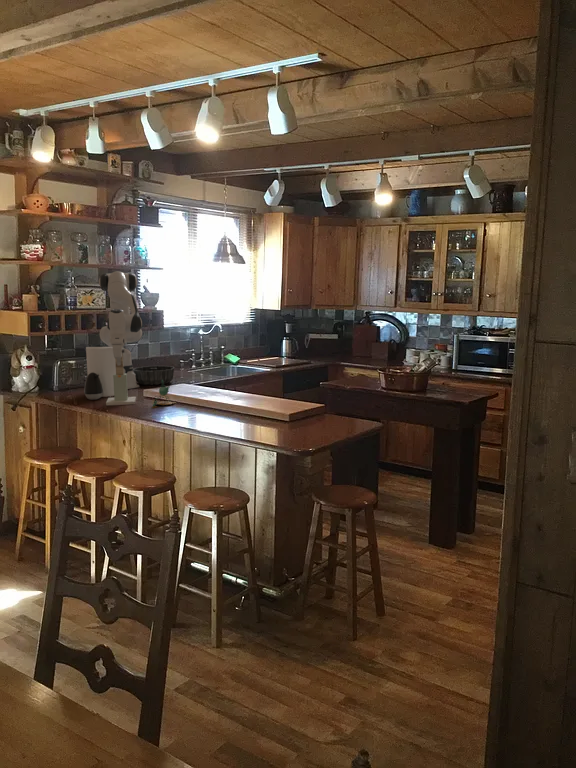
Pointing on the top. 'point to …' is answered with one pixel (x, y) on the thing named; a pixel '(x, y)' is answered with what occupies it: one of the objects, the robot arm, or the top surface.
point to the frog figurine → (163, 392)
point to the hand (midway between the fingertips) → (119, 364)
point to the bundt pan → (154, 374)
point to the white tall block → (102, 367)
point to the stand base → (120, 392)
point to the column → (120, 366)
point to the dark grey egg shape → (93, 387)
